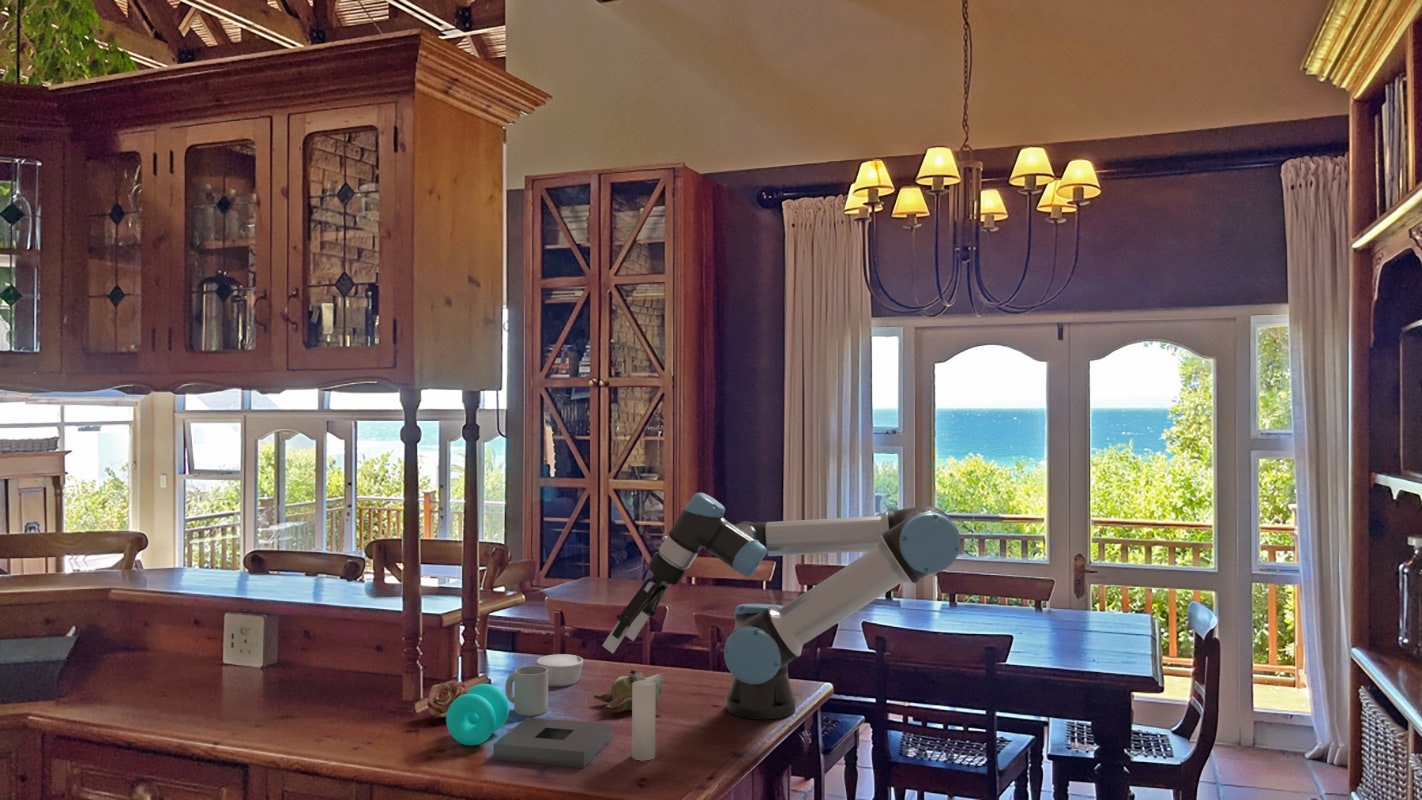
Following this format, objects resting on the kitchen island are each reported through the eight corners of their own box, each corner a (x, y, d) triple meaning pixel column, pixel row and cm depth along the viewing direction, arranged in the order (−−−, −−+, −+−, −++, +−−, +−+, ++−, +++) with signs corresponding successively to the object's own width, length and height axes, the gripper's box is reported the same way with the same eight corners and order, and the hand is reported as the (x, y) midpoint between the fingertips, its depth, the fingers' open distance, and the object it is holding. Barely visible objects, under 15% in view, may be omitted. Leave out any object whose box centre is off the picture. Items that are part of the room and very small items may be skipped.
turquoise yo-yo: (443, 746, 189) (443, 694, 189) (464, 729, 199) (465, 680, 199) (491, 749, 188) (492, 697, 188) (511, 732, 197) (511, 683, 197)
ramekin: (585, 686, 230) (585, 664, 230) (537, 689, 227) (537, 667, 227) (580, 674, 241) (580, 652, 241) (535, 676, 238) (535, 655, 238)
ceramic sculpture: (669, 671, 211) (602, 682, 206) (671, 711, 211) (605, 722, 206) (655, 660, 221) (591, 669, 216) (657, 697, 221) (593, 708, 216)
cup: (537, 718, 206) (537, 676, 206) (496, 712, 210) (497, 671, 210) (553, 708, 213) (554, 667, 213) (514, 703, 216) (514, 663, 217)
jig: (611, 739, 194) (611, 724, 194) (584, 768, 178) (584, 751, 178) (527, 732, 197) (527, 717, 197) (493, 759, 182) (493, 743, 182)
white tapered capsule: (657, 754, 186) (658, 681, 186) (651, 762, 181) (651, 687, 181) (635, 752, 186) (636, 679, 187) (628, 760, 182) (629, 685, 182)
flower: (434, 701, 212) (424, 680, 207) (473, 693, 212) (464, 671, 208) (432, 736, 204) (422, 714, 200) (472, 727, 205) (463, 705, 201)
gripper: (673, 544, 216) (623, 622, 218) (640, 555, 192) (583, 643, 194) (700, 563, 214) (649, 642, 216) (670, 577, 190) (613, 666, 192)
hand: (618, 643), depth 205 cm, fingers open, 13 cm apart
